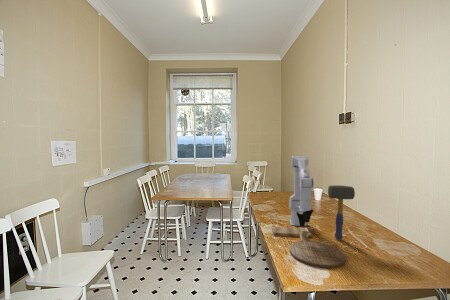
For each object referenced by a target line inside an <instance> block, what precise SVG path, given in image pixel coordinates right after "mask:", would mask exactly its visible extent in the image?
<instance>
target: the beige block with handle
mask: <svg viewBox="0 0 450 300" xmlns="http://www.w3.org/2000/svg"><path fill="white" fill-rule="evenodd" d="M297 228H298V229H299V231H300V237H299V238H300V241H304V240H309V238H310V237H309V232H310V230H309V229H308V228H307V227H302V226H297ZM308 230H309V231H308Z"/></svg>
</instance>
